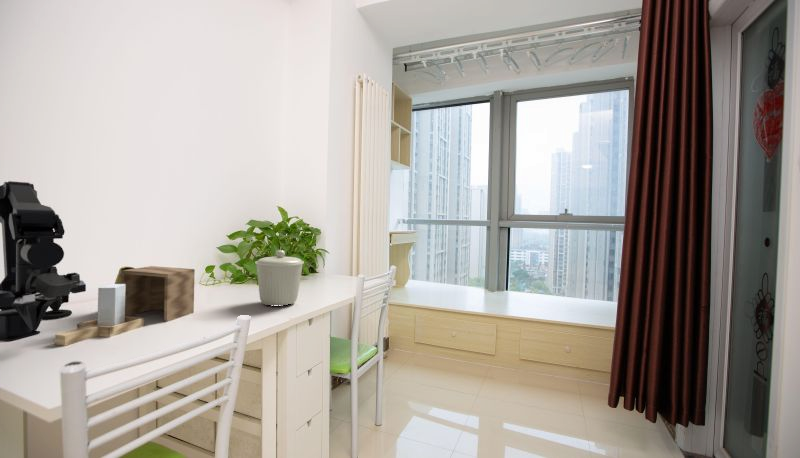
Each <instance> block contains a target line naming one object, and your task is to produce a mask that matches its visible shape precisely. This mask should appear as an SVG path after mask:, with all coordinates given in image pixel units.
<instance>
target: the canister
mask: <svg viewBox="0 0 800 458" xmlns="http://www.w3.org/2000/svg"><path fill="white" fill-rule="evenodd" d="M254 263H255V265H256V273H257V283H258V292H259V299H260V301H261V304H262V305H264V304H265V305H264V306H266V305H273V306H274V305H278V306H279V305H288V304H291V305H293V304H295V302H296V301H297V300H298V295H299V290H300V285H301V284H300V283H301V278H302V277H301V276H302V272H303V271H302V270H303V265H304V263H305V262H304V260H302V259H300V258H298V257H295V256H286V252H285V251H284V250H283V249H278V250H276V251H275V256H267V257H266V256H265V257H262V258H259V259H258V260H256V261H255V262H254ZM292 303H293V304H292ZM288 306H289V305H288Z"/></svg>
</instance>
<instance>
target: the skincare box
mask: <svg viewBox="0 0 800 458" xmlns="http://www.w3.org/2000/svg"><path fill="white" fill-rule="evenodd" d="M97 289H98V290H97V292H98V294H97V295H98V296H97V319H98V325H101V326H115V325H118V324H122V323H125V289H126V285H125V284H115V283H109V284H106V285H103V286H100V287H98V288H97Z"/></svg>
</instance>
